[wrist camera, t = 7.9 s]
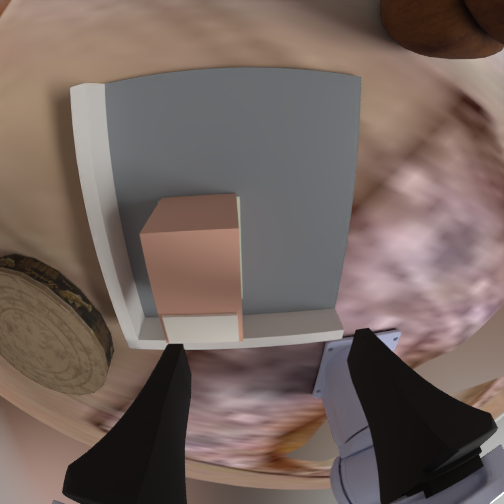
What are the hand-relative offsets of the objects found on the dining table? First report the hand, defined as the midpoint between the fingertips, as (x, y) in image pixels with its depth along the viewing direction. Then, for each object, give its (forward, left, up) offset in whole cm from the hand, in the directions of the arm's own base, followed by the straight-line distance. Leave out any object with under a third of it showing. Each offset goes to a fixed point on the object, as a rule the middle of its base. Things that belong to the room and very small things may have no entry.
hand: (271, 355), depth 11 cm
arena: (+3, +2, -9) cm, 10 cm away
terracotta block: (+1, +3, -9) cm, 9 cm away
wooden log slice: (-7, +21, -10) cm, 24 cm away
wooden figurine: (+17, -10, -10) cm, 22 cm away
